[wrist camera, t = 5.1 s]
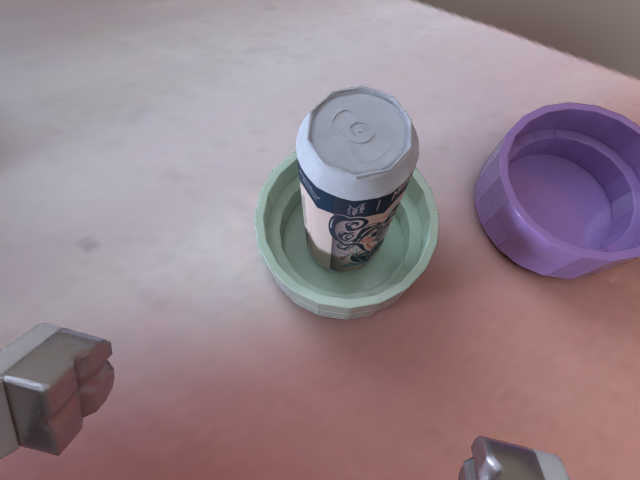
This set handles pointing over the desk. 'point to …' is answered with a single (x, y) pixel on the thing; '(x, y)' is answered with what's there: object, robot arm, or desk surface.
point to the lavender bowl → (564, 191)
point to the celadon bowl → (343, 288)
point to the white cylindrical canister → (353, 174)
